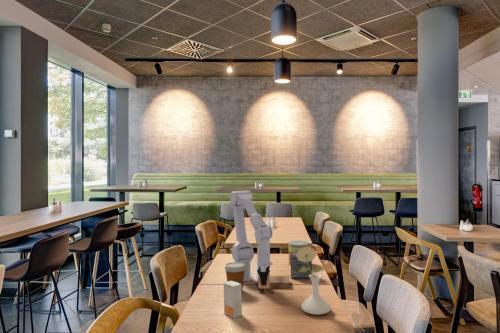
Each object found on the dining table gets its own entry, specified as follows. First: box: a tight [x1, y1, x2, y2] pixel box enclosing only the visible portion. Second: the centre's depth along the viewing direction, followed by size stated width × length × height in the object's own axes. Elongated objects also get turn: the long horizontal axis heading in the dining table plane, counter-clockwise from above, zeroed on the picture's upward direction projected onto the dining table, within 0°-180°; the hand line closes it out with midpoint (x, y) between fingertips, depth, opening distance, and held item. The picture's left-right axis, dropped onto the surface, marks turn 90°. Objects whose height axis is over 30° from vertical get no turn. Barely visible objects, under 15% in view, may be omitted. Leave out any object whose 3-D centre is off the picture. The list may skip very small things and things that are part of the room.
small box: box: [290, 255, 313, 280], centre depth 181 cm, size 11×6×10 cm, turn 84°
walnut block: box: [269, 275, 291, 289], centre depth 170 cm, size 9×9×3 cm
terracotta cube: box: [257, 273, 271, 289], centre depth 163 cm, size 5×5×5 cm
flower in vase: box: [296, 246, 332, 316], centre depth 139 cm, size 13×11×25 cm
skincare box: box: [223, 281, 243, 319], centre depth 138 cm, size 6×4×12 cm
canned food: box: [288, 240, 309, 266], centre depth 205 cm, size 11×11×12 cm
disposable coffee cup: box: [224, 261, 246, 291], centre depth 163 cm, size 10×10×12 cm
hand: (264, 283), depth 163 cm, fingers closed on terracotta cube, 5 cm apart
